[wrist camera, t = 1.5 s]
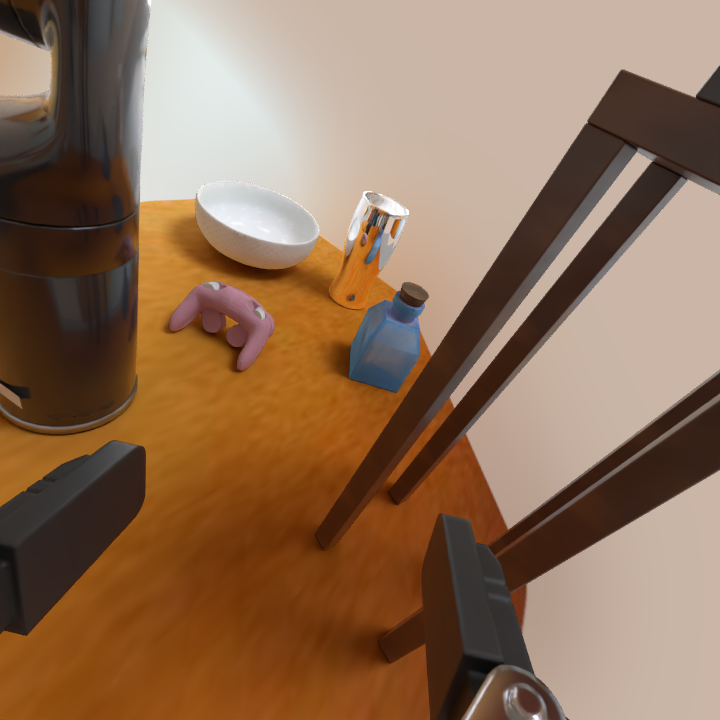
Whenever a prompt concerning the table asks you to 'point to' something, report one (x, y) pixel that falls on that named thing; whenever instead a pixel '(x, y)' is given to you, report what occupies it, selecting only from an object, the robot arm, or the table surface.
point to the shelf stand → (506, 292)
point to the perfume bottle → (389, 340)
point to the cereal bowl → (255, 224)
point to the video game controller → (235, 304)
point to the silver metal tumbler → (367, 247)
